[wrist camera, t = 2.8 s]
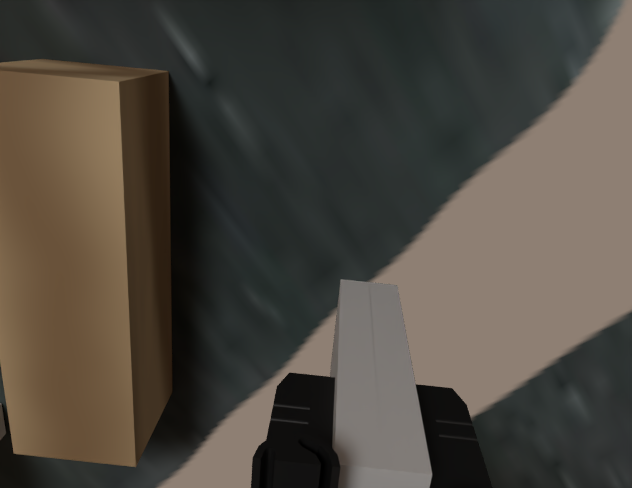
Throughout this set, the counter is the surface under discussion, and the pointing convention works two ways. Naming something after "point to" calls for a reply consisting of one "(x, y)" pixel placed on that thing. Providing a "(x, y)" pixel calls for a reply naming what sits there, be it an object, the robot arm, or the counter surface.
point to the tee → (84, 258)
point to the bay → (2, 423)
